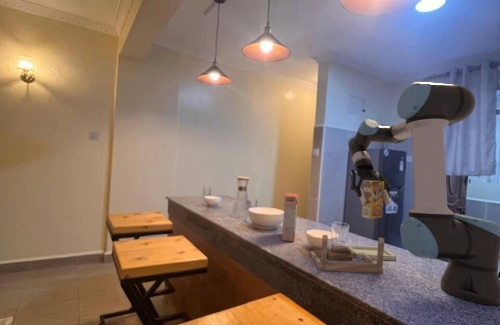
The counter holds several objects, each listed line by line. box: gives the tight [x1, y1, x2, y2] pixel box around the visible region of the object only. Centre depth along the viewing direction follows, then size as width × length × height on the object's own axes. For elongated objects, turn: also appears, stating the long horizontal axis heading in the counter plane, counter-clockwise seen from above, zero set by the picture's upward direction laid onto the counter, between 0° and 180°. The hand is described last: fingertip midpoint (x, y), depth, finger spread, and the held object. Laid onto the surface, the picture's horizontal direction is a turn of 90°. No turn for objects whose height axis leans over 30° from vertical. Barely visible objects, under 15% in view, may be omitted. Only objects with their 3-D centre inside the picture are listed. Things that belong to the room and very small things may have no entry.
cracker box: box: [281, 192, 299, 243], centre depth 134 cm, size 14×6×21 cm, turn 168°
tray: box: [346, 244, 397, 262], centre depth 116 cm, size 12×16×2 cm
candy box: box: [361, 180, 384, 220], centre depth 116 cm, size 9×4×15 cm, turn 125°
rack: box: [309, 234, 385, 275], centre depth 104 cm, size 16×22×12 cm
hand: (376, 203), depth 113 cm, fingers closed on candy box, 9 cm apart
